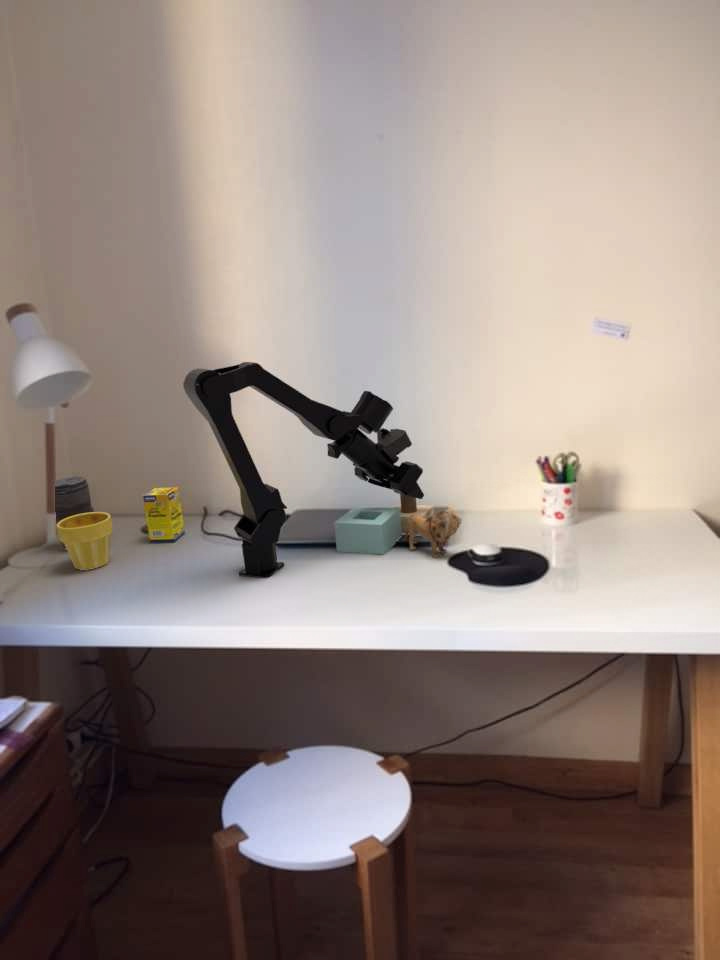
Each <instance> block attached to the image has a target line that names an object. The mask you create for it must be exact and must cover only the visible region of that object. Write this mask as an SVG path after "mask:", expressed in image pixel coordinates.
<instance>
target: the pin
mask: <svg viewBox="0 0 720 960" xmlns="http://www.w3.org/2000/svg"><path fill="white" fill-rule="evenodd" d="M399 497H400V505H401V511H402V512H403V513H414V512H416V511H417V498H414V497H410V496H405V495H401V494H399Z"/></svg>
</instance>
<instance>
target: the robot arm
mask: <svg viewBox="0 0 720 960" xmlns="http://www.w3.org/2000/svg"><path fill="white" fill-rule="evenodd" d="M182 386H183V389H184V393H185V394H186V395H187V397H188V399H189V400H190V401H191V403H192V405H194V408H196V409H197V411H198V412H199V413H200V415H202V416H203V418H204V419H205V420H206V421H207V422H208V424H209V426H210V428H211V430H212V433H213V434H214V437H215V439H216V441H217V443H218V446H219V447H220V450H221V452H222V454H223V456H224V458H225V460H226V463H227V464H228V467H229V469H230V471H231V473H232V475H233V477H234V480H235V481H236V484H237V486H238V488H239V493H240V494H239V495H240V505H241V509H242V512H243V514H242V515H241V517H240V518H239V520H238V521H237V523H236V524H235V526H234V528H233V530H234V532H235V533H236V535H237V537H238V538H241V539H242V543H241V549H242V556H243V564H244V567H243V568H242V569H241V570H240V571H238V575H239V576H245V577H259V578H270V577H271V576H272V575H273V574H275V573H276V572H278V570H280V569H281V568H283V567H284V566H285V563H284V562H282V561H278V556H277V548H276V547H277V546H276V543H278V542H279V540H280V539H279V538H280V534H281V529H282V527H283V526H284V525H285V521H286V520H287V514H286V509H288V506H286V504H285V503H284V502H283V501H282V500H283V499H282V495H281V493H280V490H279V488H276V487H274V486H272V485H269V484H268V483H264V482H263V480H262V477H261V475H260V473H259V470H258V469H257V468H258V467H257V466H256V464H255V462H254V459H253V457H252V455H251V453H250V451H249V449H248V446H247V444H246V442H245V439H244V438H243V435H242V433H241V431H240V429H239V427H238V425H237V422H236V420H235V418H234V416H233V412H232V410H233V409H232V396H231V394H234V393H237V392H240V391H241V390H243V389H246V388H248V387H250V388H251V389H252V390H255V391H256V392H258V393H259V394H261V395H263V396H264V397H266V398H267V399H269V400H271V401H272V402H273V403H275V404H277V405H279V406H280V407H282V408H284V409H285V410H287V411H288V412H290V413H291V414H293V415H294V416H295V417H296V418H297V419H298V420H299V421H300V422H301V424H302V425H303V426H305V428H306V429H308V430H309V432H311V433H312V434H313V435H314V436H317V437H320V438H324V439H326V440H331V441H333V442H329V443H327V445H326V446H327V456H328V457H330V458H332V459H333V458H334V459H339V458H340V456H341V455H343V456H344V457H345V458H347V459H348V460H349V461H350V462H352V465H353V467H354V469H353V470H354V476H355V477H357V478H358V479H360V480H362V481H364V482H368V483H369V484H371V485H374V486H377V487H381V488H385V489H388V490H391V491H393V492H394V493H396V494H399V495H400V494H401V495H405V496H410V497H414V498H416V499H419V500H422V499H423V498H424V496H425V494H424V492H423V491H422V489H421V487H420V485H419V483H418V480H419V479H420V478H421V476H422V474H423V471H424V470H423V468H422V467H421V466H419V464H417V463H414V462H410V461H403V462H401V463H400V465H396V464H397V463H398V461H399V460H400V457H399V456H398V455H400V454H401V453H402V452H404V451H405V450H407V449H408V448H410V447H411V446H412V445H413V443H412V441H411V439H410V437H409V435H408V432H407V431H406V430H404V429H400V428H391V429H390V430H389V429H387V428H383V425H384V423H385V422H386V421H387V419H389V416H390V415H391V413H392V412H393V410H394V408H393V406H392V404H391V403H390V402H389V401H388V400H384V399H383V398H381V397H379V396H378V395H376V394H374V393H373V392H372V391H369V390H363V393H361V395H360V397H359V400H358V401H357V403H356V404H355V406H354V408H353V409H351V412H350V411H345V410H339V409H337V408H335V407H332V406H330V405H327V404H324V403H321V402H319V401H316V400H314V399H311V398H309V397H308V396H307V395H305V394H303V393H302V392H301V391H299V390H297V389H296V388H294V387H292V386H291V385H290V384H288V383H286V382H285V381H284V380H282V379H281V378H279V377H277V376H276V375H275V374H272V373H271V372H269V371H268V370H267V369H265V368H264V367H263V366H262V365H261V364H259V363H257V362H251V361H244V362H241V363H239V364H234V365H229V366H225V367H221V368H216V369H208V368H197V367H196V368H195V369H192V370H191V371H189V372H188V373H187V374H186V375H185V378H184V380H183V385H182ZM372 432H373V433H375V434H377V435H376V438H377V442H376V443H375V442H374V441H373V440H372V439H371V438H369V436H367V435H366V434H368V435H371V434H372ZM365 433H366V434H365Z"/></svg>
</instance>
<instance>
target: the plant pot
mask: <svg viewBox="0 0 720 960" xmlns="http://www.w3.org/2000/svg"><path fill="white" fill-rule="evenodd" d="M113 527H114V526H113V520H112V516H111V514H110V513H109V512H103V511H94V512H89V513H83V514H78V515H74V516H70V517H68V518H65V519H63V520H61V521H60V522H58V523H57V524H56V531H57V535H58V539H59V541H60V543H61V542H63V543H64V545H65V547H66V549H67V550H66V551H67V553H68V555H69V557H70V559H71V562H72V565H73V566H74V569H76V568H77V569H90V568H96V567H99V566H102V565H104V566H106V565H108V564H109V562H108V561H110V541H111V533H113V531H114V529H113ZM63 543H62V544H63ZM105 564H106V565H105ZM102 567H103V566H102ZM77 569H76V570H77Z"/></svg>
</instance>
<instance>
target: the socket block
mask: <svg viewBox="0 0 720 960" xmlns="http://www.w3.org/2000/svg"><path fill="white" fill-rule="evenodd" d="M333 526H334V527H333V528H334V535H335V545H336V546H335V547H336V552H339V553H354V554H355V553H356V554H371V555H383V556H384V555H385V554H386V553H387V552H388V551H389V550H390V549H392V548H393V547H394V546H395V545H396V544H397V543H396V540H397V539H398V538H399V537H400V536H401V535H402V528H401V515H400V509H393V508H386V507H363V506H362V507H360V506H359V507H358V506H357V507H356V506H354V507H353V508H352V509H350V510H349V511H348V512H346V513H345V514H343V515H342V516H340V517H339V518H338V519H337V520H335V521H333ZM402 536H403V535H402Z"/></svg>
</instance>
